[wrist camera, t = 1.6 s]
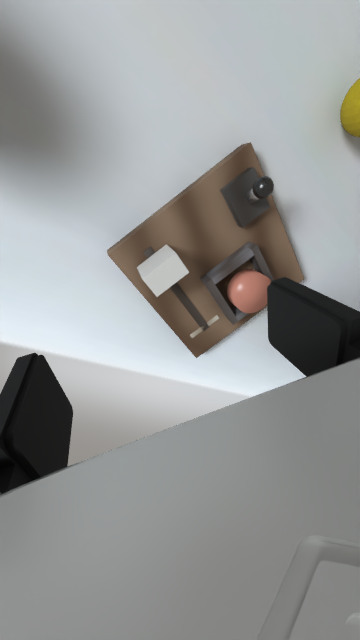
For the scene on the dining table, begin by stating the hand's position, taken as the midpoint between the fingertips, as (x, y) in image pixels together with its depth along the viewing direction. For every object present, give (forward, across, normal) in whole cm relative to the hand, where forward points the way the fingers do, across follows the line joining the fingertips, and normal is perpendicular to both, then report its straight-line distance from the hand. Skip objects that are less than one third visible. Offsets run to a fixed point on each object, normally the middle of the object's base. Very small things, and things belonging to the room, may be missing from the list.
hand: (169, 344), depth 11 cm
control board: (+21, -10, +5) cm, 24 cm away
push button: (+17, -12, +7) cm, 22 cm away
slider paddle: (+19, -3, +2) cm, 19 cm away
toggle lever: (+18, -14, -2) cm, 22 cm away
